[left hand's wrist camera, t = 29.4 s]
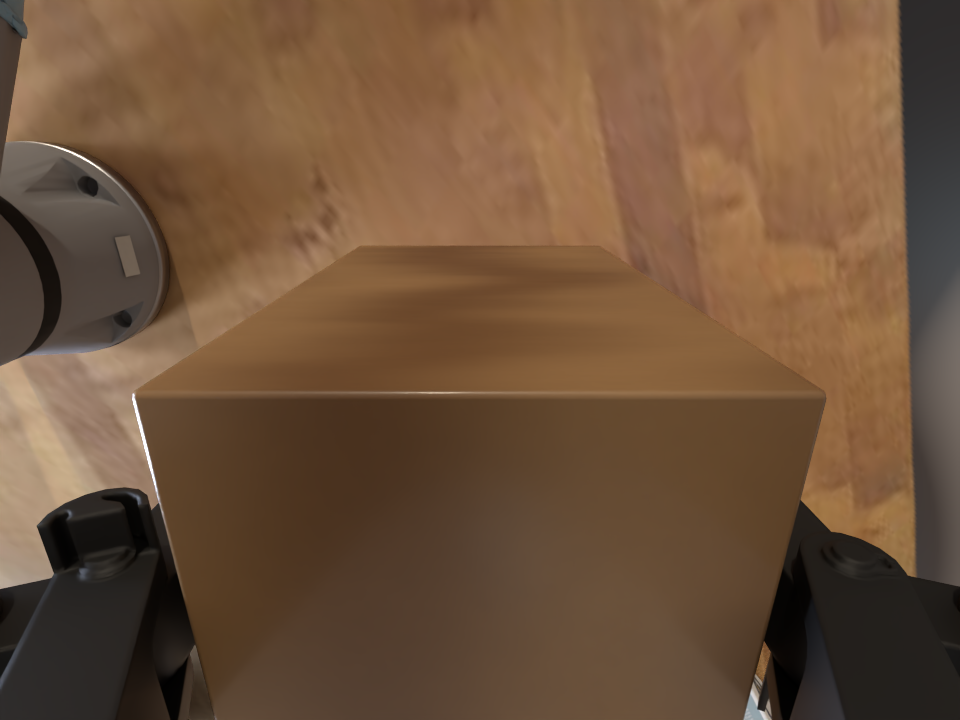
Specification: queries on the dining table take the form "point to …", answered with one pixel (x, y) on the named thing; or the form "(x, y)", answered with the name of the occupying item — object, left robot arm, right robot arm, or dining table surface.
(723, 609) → the block
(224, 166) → the dining table surface
